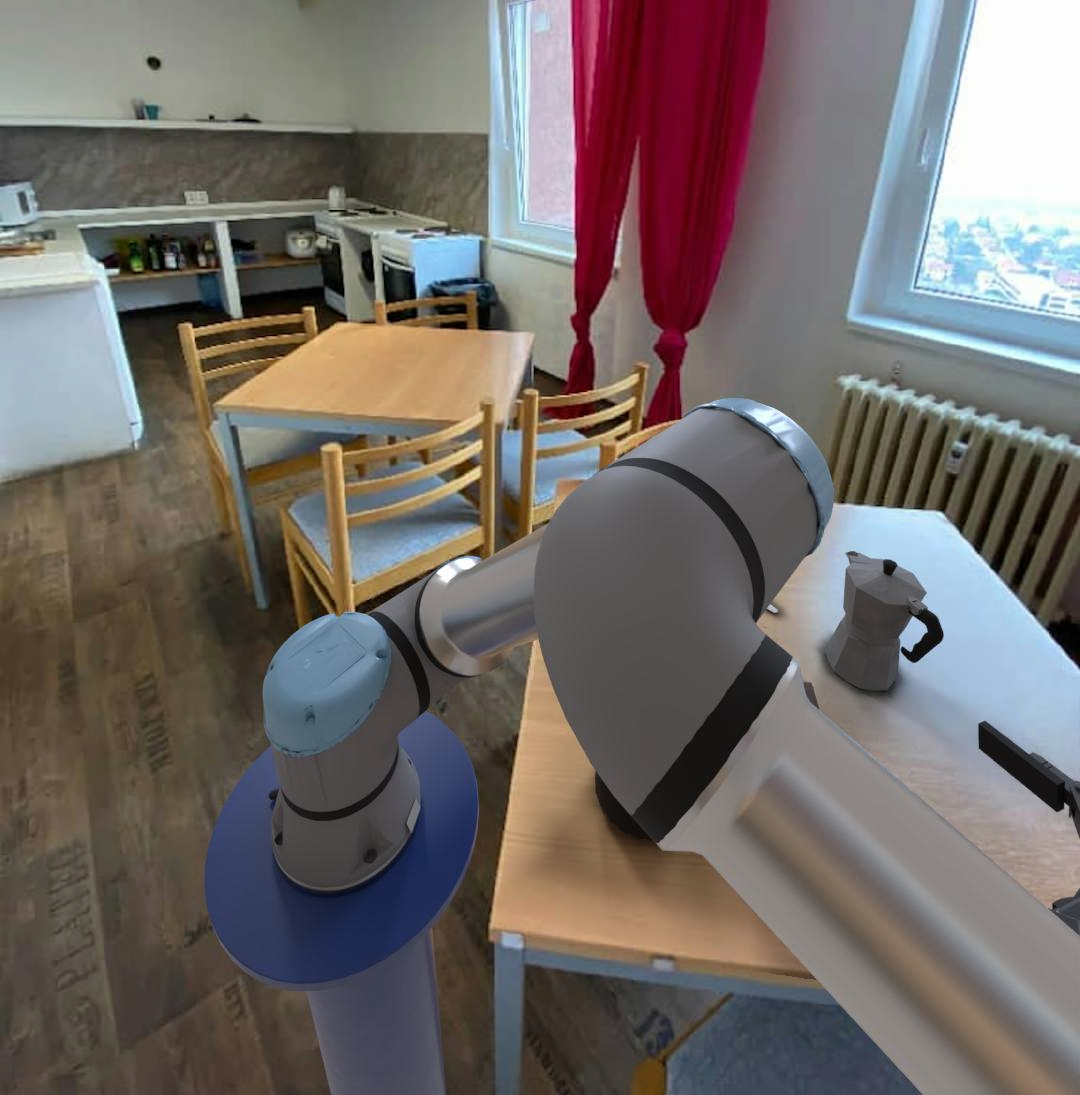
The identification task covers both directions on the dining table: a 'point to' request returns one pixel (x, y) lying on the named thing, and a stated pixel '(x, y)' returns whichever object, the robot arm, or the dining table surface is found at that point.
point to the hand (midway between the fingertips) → (918, 762)
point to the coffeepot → (878, 623)
